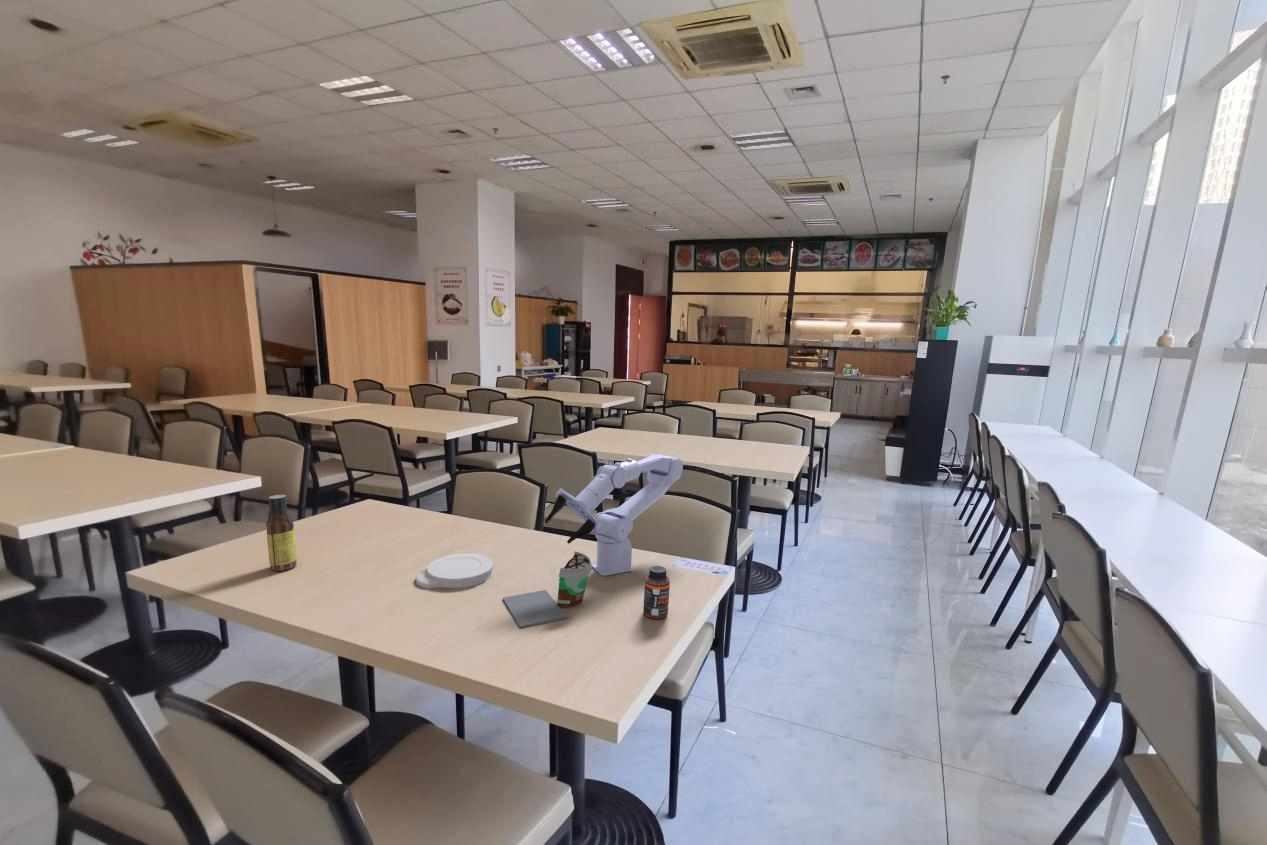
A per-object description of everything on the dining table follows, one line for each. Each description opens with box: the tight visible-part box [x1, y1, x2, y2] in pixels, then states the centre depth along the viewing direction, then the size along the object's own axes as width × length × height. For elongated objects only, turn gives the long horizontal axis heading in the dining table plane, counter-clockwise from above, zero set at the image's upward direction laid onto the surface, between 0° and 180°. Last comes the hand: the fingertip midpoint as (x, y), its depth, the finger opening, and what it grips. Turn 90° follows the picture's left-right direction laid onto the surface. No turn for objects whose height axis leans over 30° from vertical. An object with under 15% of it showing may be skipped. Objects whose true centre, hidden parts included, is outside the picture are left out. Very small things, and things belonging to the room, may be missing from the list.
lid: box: [415, 552, 494, 590], centre depth 147 cm, size 17×20×3 cm
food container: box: [556, 551, 593, 608], centre depth 135 cm, size 12×6×10 cm, turn 169°
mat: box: [502, 589, 568, 629], centre depth 131 cm, size 11×15×1 cm
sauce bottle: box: [265, 494, 298, 572], centre depth 147 cm, size 6×6×20 cm
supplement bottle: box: [642, 565, 671, 620], centre depth 130 cm, size 6×6×11 cm
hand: (557, 531), depth 138 cm, fingers open, 7 cm apart
